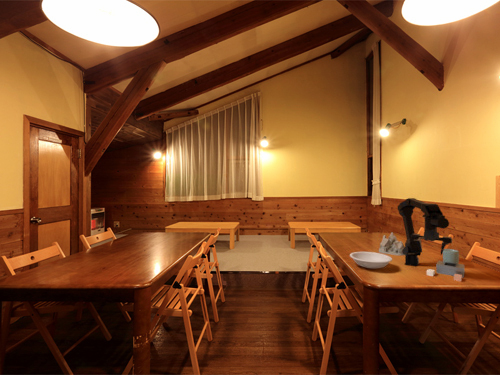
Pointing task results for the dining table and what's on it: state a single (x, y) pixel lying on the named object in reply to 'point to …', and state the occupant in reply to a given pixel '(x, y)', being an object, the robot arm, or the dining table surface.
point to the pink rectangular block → (458, 277)
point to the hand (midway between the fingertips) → (431, 253)
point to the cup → (451, 256)
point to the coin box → (449, 268)
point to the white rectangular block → (430, 272)
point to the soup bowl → (371, 259)
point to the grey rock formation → (391, 245)
